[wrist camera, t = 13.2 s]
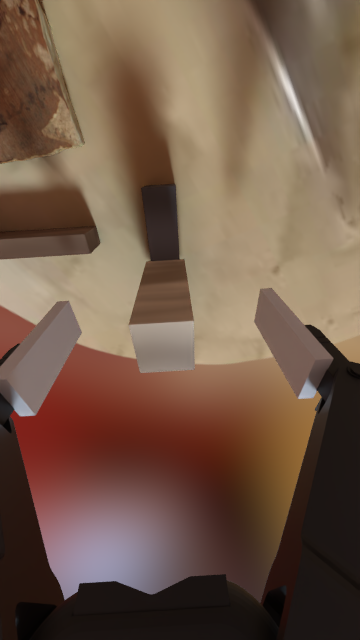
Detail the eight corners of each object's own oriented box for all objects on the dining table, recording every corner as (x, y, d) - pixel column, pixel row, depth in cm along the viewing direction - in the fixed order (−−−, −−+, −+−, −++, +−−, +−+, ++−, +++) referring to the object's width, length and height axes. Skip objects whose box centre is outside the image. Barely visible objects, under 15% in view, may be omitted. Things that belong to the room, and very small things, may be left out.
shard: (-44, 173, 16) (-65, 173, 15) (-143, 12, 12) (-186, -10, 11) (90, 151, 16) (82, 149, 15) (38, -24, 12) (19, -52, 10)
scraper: (140, 185, 17) (99, 202, 7) (179, 183, 17) (191, 197, 7) (159, 324, 25) (151, 421, 15) (185, 322, 25) (195, 418, 15)
